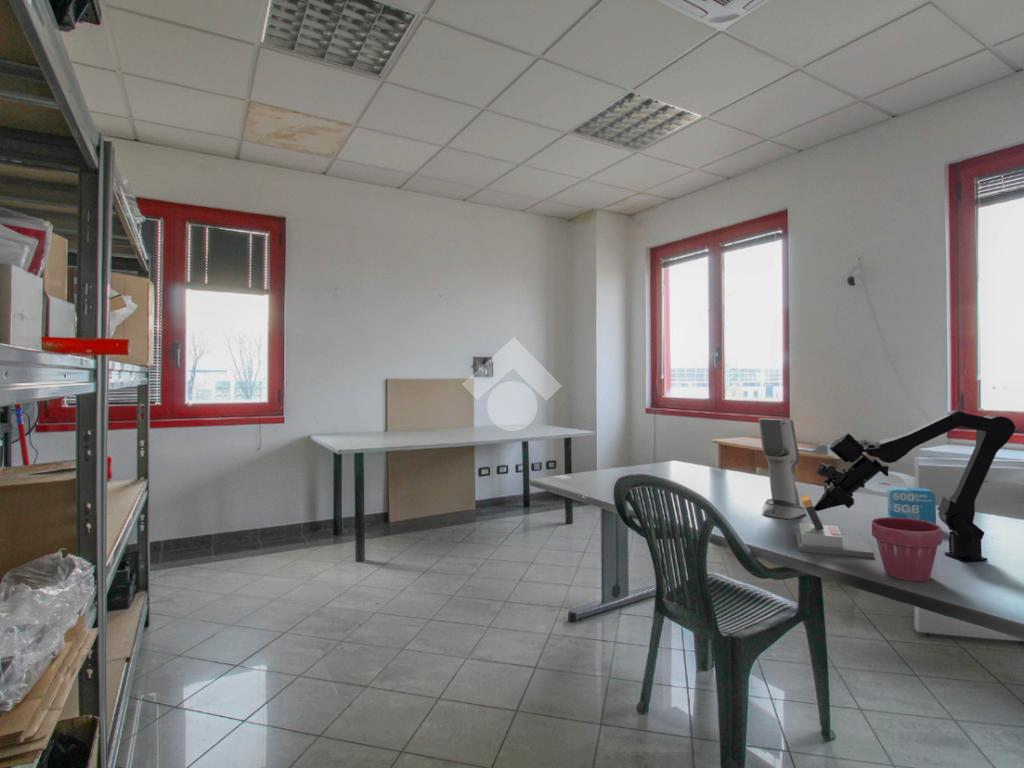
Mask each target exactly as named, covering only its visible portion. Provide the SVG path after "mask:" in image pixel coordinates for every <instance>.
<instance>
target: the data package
mask: <svg viewBox="0 0 1024 768" xmlns="http://www.w3.org/2000/svg"><path fill="white" fill-rule="evenodd" d="M886 492H887V518H889V517H892V518H909V519H917V520H922V521H927V522H931V523H934V524H936V525H937V513H936V512H937V507H936V502H937V501H936V495H935V493H934V492H933V491H932V490H930V489H928V488H919V487H902V486H901V487H899V486H891V487H889V488H888V489H887V491H886Z"/></svg>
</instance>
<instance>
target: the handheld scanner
mask: <svg viewBox="0 0 1024 768" xmlns="http://www.w3.org/2000/svg"><path fill="white" fill-rule="evenodd" d="M758 424H759V431H760V440H761V442H760V443H761V447H762V451H763V455H764V456H765V459H766V461H767V464H768V473H769V485H770V486H769V487H770V495H771V498H767V500H765V502H764V504H763V507H762V512H761V514H762V515H763V516H765V515H766V516H765V517H770V518H775V519H780V520H793V519H797V518H799V517H802V516H804V515H806V514H807V512H806V511H807V510H806V508H805V507H804V506H801V502H800V497H799V492H798V488H797V484H796V482H795V481H796V480H795V478H794V477H795V476H794V473H793V467H794V466H795V465H797V464H798V463H799V460H800V453H799V448H798V442H797V437H796V430H795V425H794V420H792V419H786V418H765V417H764V418H763V417H759V418H758Z"/></svg>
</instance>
